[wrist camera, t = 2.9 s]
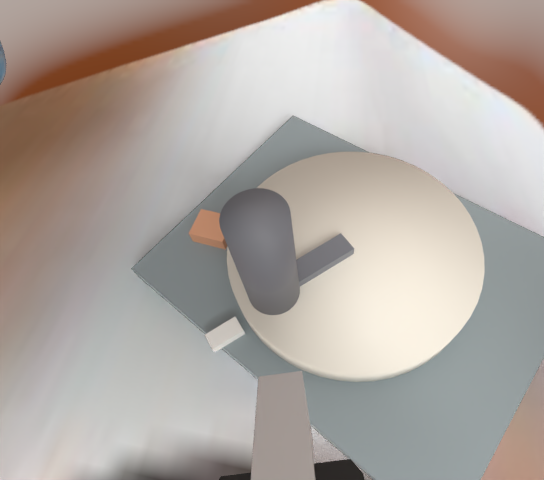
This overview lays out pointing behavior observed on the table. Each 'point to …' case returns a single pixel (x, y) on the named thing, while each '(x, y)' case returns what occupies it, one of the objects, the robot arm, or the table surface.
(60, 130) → the table surface
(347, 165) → the dial
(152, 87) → the table surface
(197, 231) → the dial board
